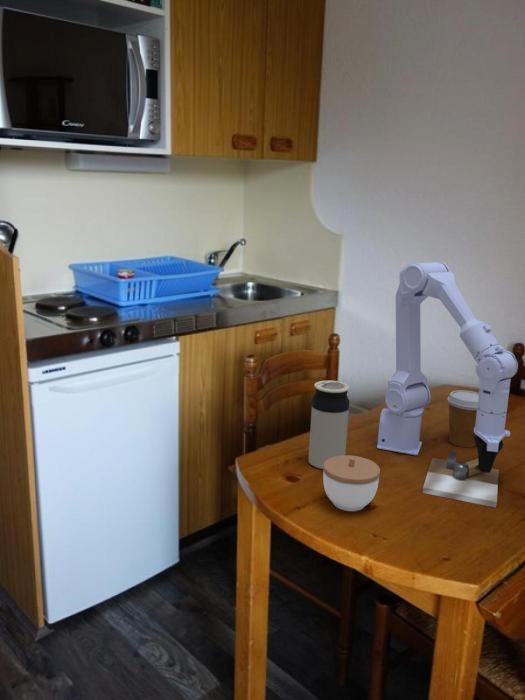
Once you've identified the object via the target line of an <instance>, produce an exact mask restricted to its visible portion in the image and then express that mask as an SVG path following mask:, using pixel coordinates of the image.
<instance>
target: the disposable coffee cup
mask: <svg viewBox="0 0 525 700" xmlns="http://www.w3.org/2000/svg"><path fill="white" fill-rule="evenodd" d="M478 397H479V392H476V391H472V390H453V391H451V392H450V393H449V395H448V397H446V398H447V402H448V417H449V418H448V419H449V420H448V426H449V428H448V430H449V431H448V432H449V434H448V435H449V438H448V440H449V443H450V444H452V445H454V446H458V447H461V448H472V447H476V444H475V442H474V436H477V435H476V434H475V433H474V427H475V424H476V415H477V406H478Z"/></svg>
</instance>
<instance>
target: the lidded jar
mask: <svg viewBox="0 0 525 700" xmlns="http://www.w3.org/2000/svg"><path fill="white" fill-rule="evenodd" d="M322 470H323V473H322V481H323V487H324V492H325V494H326V496H327V497H328V499H329V500H330V501H331V503H332V505H334V506H335V507H336V508H337V509H338V510H342V511H346V512H358V511H361V510H363V509H364V508H365V507H366V506H368V504H369V503H371V501H373V499H374V497H375V495H376V493H377V491H378V487H379V481H380V476H381V468H380V467H379V465H378V464H377V463H376V462H374V461H373V460H371V459H368V458H365V457H362V456H357V455H351V454H349V455H347V454H345V455H341V456H334V457H331V458H329V459H327V460H326V461H325V462H324V464H323V469H322Z"/></svg>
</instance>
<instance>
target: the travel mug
mask: <svg viewBox="0 0 525 700" xmlns="http://www.w3.org/2000/svg"><path fill="white" fill-rule="evenodd" d="M313 385H314V386H313V387H314V389H315V393H314V395H313V396H312V400H311V413H310V414H311V415H310V428H309V429H310V430H309V432H310V433H309V442H308V443H309V445H308V447H309V448H308V463H309V465H312V466H313V467H315V468H317V469H321V470H323V464H324V462H325V461H326V460H327V459H329V458H331V457H334V456H341V455H346V450H347V449H346V448H347V437H348V426H349V425H348V424H349V414H350V413H349V411H350V399H349V397H348V391H349V390H350V386H349V385H348V384H347V383H345V382H341V381H339V380H331V379H330V380H329V379H328V380H320V381H317V382H315V383H314V384H313Z"/></svg>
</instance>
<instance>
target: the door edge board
mask: <svg viewBox="0 0 525 700" xmlns="http://www.w3.org/2000/svg"><path fill="white" fill-rule="evenodd" d="M446 465H447V459H441V458H435V457H432V458H431V462H430V465H429V467H428V471H427V474H426V477H425V481H424V484H423V486H422V494H427V495H432V496H435V497H436V496H437V497H441V498H446V499H451V500H457V501H462V502H465V503H466V502H467V503H470V504H475V505H480V506H487V507H491V508H497V504H498V489H499V488H498V487H499V486H498V485H499V473H500V471H499V469H496V468H492V469H491V471H490V473H488V472H481V473H478V474H475V475H472V476H469V477H468V476H467V478H466V479H458V478H456V477H454V476H453V471H454V470H450V469H446Z"/></svg>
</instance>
